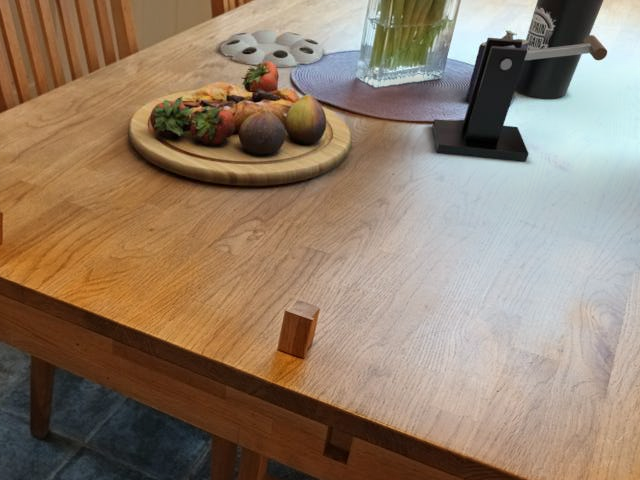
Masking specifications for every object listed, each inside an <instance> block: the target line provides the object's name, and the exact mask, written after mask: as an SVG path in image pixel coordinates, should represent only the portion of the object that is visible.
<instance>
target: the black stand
mask: <svg viewBox="0 0 640 480" xmlns="http://www.w3.org/2000/svg"><path fill="white" fill-rule="evenodd" d="M485 42H486V46H485V49H484V53H483V56H482V60H481V63H480V67H479V70H478V73H477V77H476V80H475V84H474V87H473V91H472V94H471V98H470V101H469V103H468V105H467V108H466V111H465V112H466V113H465V116H464V119H463V121H458V120H448V119H438V118H437V119H435V118H434V119H433V122H432V133H433V138H434V143H435V149H436V153H437V154H448V155H458V156H459V155H460V156H468V157H478V158H488V159H499V160H508V161H516V162H517V161H519V162H526V161H527V159H528V157H529V150H528V148H527V146H526V144H525V142H524V139H523V137H522V134H521V132H520V129H519V127H518V126H512V125H505V122H506V119H507V115H508V113H509V109H510V107H511V104H512V100H513V97H514V94H515V92H516V91H515V88H516V85H517V82H518V79H519V75H520V72H521V69H522V66H523V63H524V60H525V57H526V54H527V49H525V48H521V46H522V43H523V42H522V40H515V39H501V38H498V37H487V39H486V41H485ZM511 45H514V46H515V48H512V47H503V46H511Z"/></svg>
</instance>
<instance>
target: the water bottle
mask: <svg viewBox="0 0 640 480" xmlns="http://www.w3.org/2000/svg"><path fill="white" fill-rule="evenodd" d="M603 3H604V0H537V1H536V5H535V7H534V11H533V14H532V17H531V20H530V24H529V27H528V32H527V34H526V37H525V40H527V41H528V42H529V45H528V48H527V50H534V49H543V48H552V47H560V46H569V45H578V44H583V41H584V39H585V38H586V37H587V36H589V35H591V33H592V30H593V28H594V25H595V24H596V20H597V18H598V15H599V13H600V10H601V8H602V5H603ZM582 55H583V54H578V55H569V56H559V57H550V58H541V59H532V60H524V63H523V66H522V69H521V72H520V75H519V79H518V82H517V85H516V88H515V91H514V92H517V93H519V94H521V95H523V96H527V97H531V98H535V99H536V98H537V99H543V100H544V99H545V100H555V99H561V98H564V97H565V96H566V95H567V92H568V90H569V87H570V85H571V82H572V80H573V78H574V75H575V72H576V70H577V67H578V65H579V62H580V60H581V57H582Z"/></svg>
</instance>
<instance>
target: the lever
mask: <svg viewBox="0 0 640 480" xmlns="http://www.w3.org/2000/svg"><path fill="white" fill-rule="evenodd" d="M503 47H512V48H515V46H514V45H511V46H503ZM578 54H582V55H585V54H590V56H591V57H592V58H593V59H594V60H595V61H602V60H604V59H605V58H606V57H607V55H608V50H607V48H606V47H605V46H604V45H603V44H602V42H601V41H600V40H599V39H598V38H597V37H596V36H595V35H594V34H590V35H589V36H587V37H586V38H585V39H584V41H583V44H578V45H569V46H560V47H552V48H543V49H534V50H527V54H526V57H525V60H532V59H541V58H550V57H559V56H569V55H578Z"/></svg>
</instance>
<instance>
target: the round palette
mask: <svg viewBox="0 0 640 480" xmlns="http://www.w3.org/2000/svg"><path fill="white" fill-rule="evenodd" d="M219 50H220V51H219V52H220V53H221V54H222V55H223V56H225V57H230V58H231V60H233V61H235V62H237V63H241V64H244V65H245V64H246V65H249V66H250V65H251V66H256V67H258V64H259V63H264V62H272V63H273V64H274V65H275V66H276V68H291V67H292V68H293V67H298V65H304V66H306V65H311V64H314V63H316V62H318V61H320V59H321V58H322V57H323V48H322V46H321V44H320V43H319V42H317V41H316V40H314V39H310V38H305V37H303V36H302V35H301V34H298V33H294V32H289V31H285V32H283V33H280V35H277V33H275V32H274V31H273V30H256V31H254V32H253V33H252V34H250V33H248V32H241V33H239V32H238V33H235V34H232V35H230V36H229V37H228V38H227V39H226V41H224V42H223V43H222V44H221V46H220V49H219ZM306 52H307V53H306ZM246 53H247V54H246Z"/></svg>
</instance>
